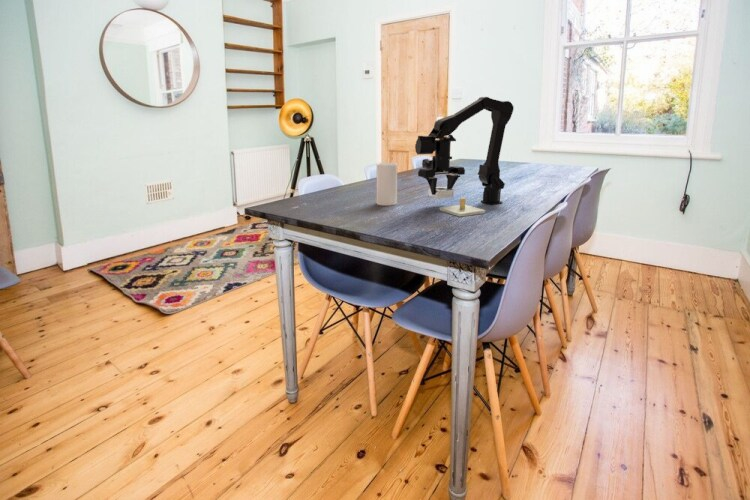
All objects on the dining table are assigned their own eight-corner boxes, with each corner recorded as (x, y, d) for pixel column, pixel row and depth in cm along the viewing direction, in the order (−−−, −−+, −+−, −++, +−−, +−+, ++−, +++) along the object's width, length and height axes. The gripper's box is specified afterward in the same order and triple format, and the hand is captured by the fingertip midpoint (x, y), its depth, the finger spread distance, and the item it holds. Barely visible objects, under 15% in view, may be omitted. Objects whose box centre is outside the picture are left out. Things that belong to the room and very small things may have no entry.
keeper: (464, 206, 179) (465, 194, 178) (485, 212, 169) (486, 199, 168) (439, 210, 174) (440, 197, 172) (459, 216, 164) (460, 202, 162)
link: (442, 194, 185) (442, 186, 184) (453, 197, 179) (453, 189, 178) (428, 195, 181) (428, 188, 180) (438, 198, 175) (439, 191, 175)
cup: (395, 205, 182) (395, 165, 177) (374, 205, 183) (374, 164, 178) (398, 201, 189) (398, 162, 184) (378, 201, 191) (378, 162, 186)
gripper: (448, 150, 186) (447, 188, 191) (410, 152, 177) (409, 192, 182) (466, 152, 177) (464, 192, 181) (427, 155, 168) (425, 197, 173)
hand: (440, 193), depth 180 cm, fingers closed on link, 7 cm apart
